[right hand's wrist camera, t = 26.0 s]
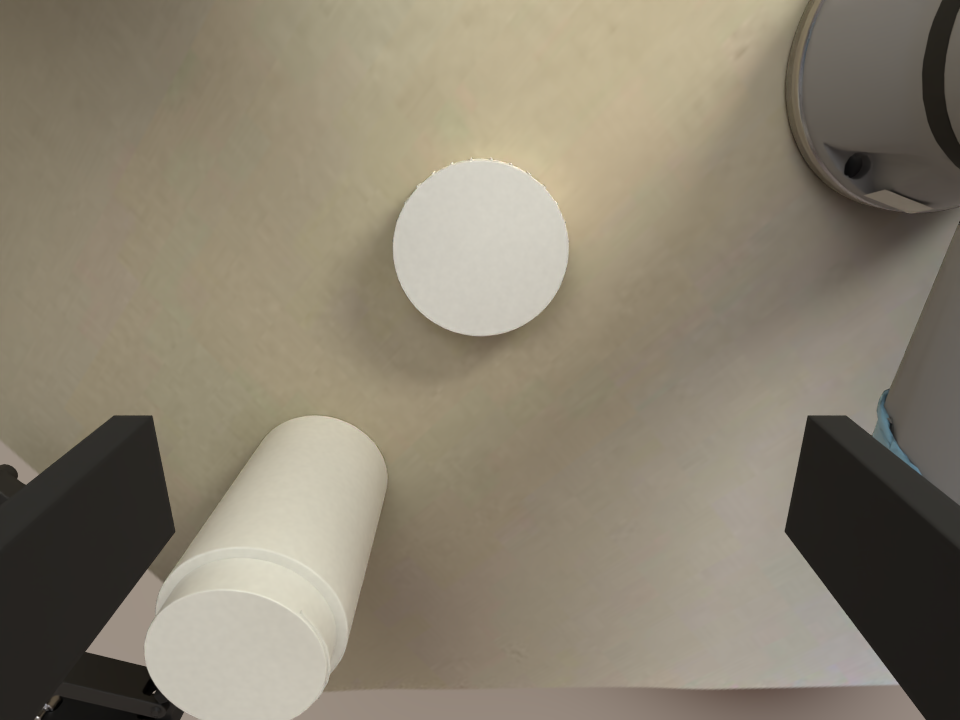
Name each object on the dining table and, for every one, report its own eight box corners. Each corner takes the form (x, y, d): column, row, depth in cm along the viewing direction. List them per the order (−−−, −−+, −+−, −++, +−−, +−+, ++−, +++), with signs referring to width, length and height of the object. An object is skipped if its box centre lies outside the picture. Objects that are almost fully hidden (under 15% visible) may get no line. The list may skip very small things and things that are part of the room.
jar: (309, 552, 45) (225, 765, 30) (225, 457, 43) (86, 639, 27) (414, 492, 43) (379, 686, 28) (333, 390, 41) (247, 544, 26)
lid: (595, 205, 37) (602, 211, 35) (516, 350, 40) (519, 364, 38) (439, 125, 35) (437, 125, 33) (371, 282, 38) (364, 292, 36)
